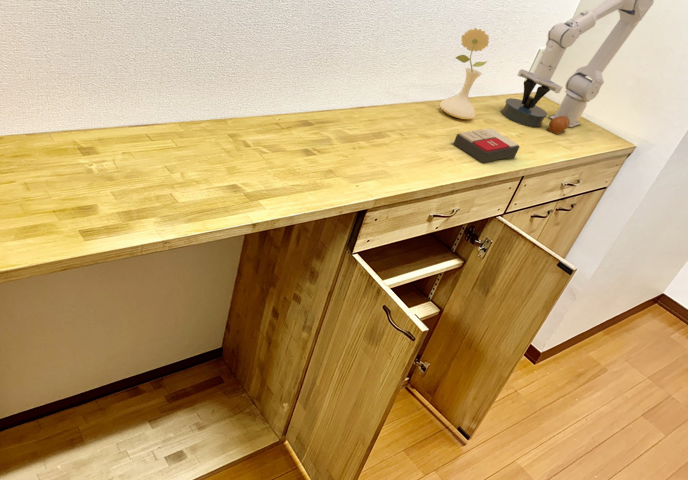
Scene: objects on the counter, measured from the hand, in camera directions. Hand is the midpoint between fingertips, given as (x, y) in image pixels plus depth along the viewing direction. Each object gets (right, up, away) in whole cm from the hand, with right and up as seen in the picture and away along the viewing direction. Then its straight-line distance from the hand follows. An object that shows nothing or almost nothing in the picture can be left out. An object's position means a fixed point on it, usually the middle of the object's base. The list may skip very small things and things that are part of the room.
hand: (527, 105), depth 188 cm
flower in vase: (-28, -6, -10) cm, 30 cm away
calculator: (-25, -22, -30) cm, 45 cm away
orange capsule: (+10, -8, +1) cm, 13 cm away
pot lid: (0, -1, +1) cm, 1 cm away
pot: (-1, -3, +3) cm, 4 cm away
